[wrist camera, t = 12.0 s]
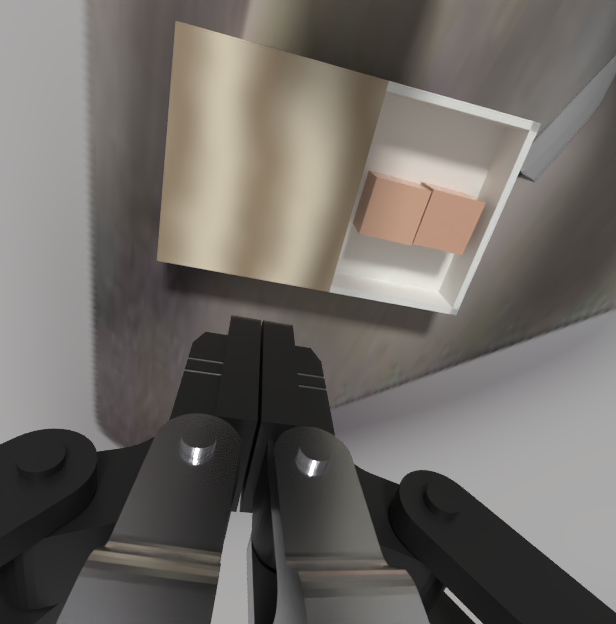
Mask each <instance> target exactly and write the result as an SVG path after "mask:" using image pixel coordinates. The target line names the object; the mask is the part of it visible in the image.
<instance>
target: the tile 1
mask: <svg viewBox="0 0 616 624" xmlns="http://www.w3.org/2000/svg"><path fill="white" fill-rule="evenodd" d="M431 192H432V191H430V190H429V189H427V188H426V187H424V186H423V185H421V184H420V183H416V182H412V181H408V180H404V179H400V178H396V177H393V176H389V175H385V174H381V173H377V172H373V171H368V175H367V178H366V181H365V184H364V188H363V191H362V194H361V198H360V201H359V204H358V207H357V211H356V214H355V217H354V221H353V225H354V226H355V228H356V230H357V231H358V233H359V234H362V235H366V236H370V237H375V238H379V239H384V240H388V241H392V242H397V243H401V244H405V245H410V246H411V245H412V242H413V239H414V237H415V234H416V232H417V229H418V226H419V224H420V221H421V218H422V216H423V213H424V210H425V208H426V205H427V202H428V200H429V197H430V194H431Z"/></svg>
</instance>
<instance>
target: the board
mask: <svg viewBox="0 0 616 624" xmlns="http://www.w3.org/2000/svg"><path fill="white" fill-rule="evenodd" d="M388 83H389V81H388V80H385V79H381V78H377V77H374V76H370V75H367V74H363V73H360V72H356V71H352V70H349V69H345V68H342V67H338V66H335V65H331V64H328V63H324V62H320V61H317V60H313V59H310V58H306V57H303V56H299V55H296V54H292V53H288V52H285V51H281V50H278V49H274V48H271V47H267V46H264V45H260V44H256V43H253V42H249V41H246V40H242V39H239V38H235V37H232V36H228V35H224V34H221V33H217V32H214V31H210V30H207V29H203V28H200V27H196V26H192V25H189V24H185V23H182V22H178V21H176V23H175V36H174V49H173V61H172V74H171V87H170V100H169V113H168V125H167V138H166V151H165V164H164V177H163V189H162V202H161V215H160V228H159V241H158V253H157V261H161V262H167V263H172V264H177V265H183V266H188V267H194V268H199V269H205V270H210V271H216V272H221V273H227V274H232V275H238V276H243V277H249V278H254V279H260V280H265V281H271V282H276V283H282V284H287V285H293V286H298V287H304V288H309V289H315V290H320V291H326V292H329V291H330V288H331V284H332V281H333V277H334V274H335V270H336V267H337V263H338V259H339V256H340V252H341V249H342V245H343V242H344V238H345V235H346V231H347V228H348V224H349V221H350V217H351V213H352V210H353V206H354V203H355V199H356V196H357V192H358V189H359V185H360V182H361V178H362V175H363V171H364V168H365V164H366V160H367V157H368V153H369V150H370V146H371V143H372V139H373V136H374V132H375V129H376V125H377V122H378V118H379V115H380V111H381V107H382V104H383V100H384V97H385V93H386V90H387V86H388Z"/></svg>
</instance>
